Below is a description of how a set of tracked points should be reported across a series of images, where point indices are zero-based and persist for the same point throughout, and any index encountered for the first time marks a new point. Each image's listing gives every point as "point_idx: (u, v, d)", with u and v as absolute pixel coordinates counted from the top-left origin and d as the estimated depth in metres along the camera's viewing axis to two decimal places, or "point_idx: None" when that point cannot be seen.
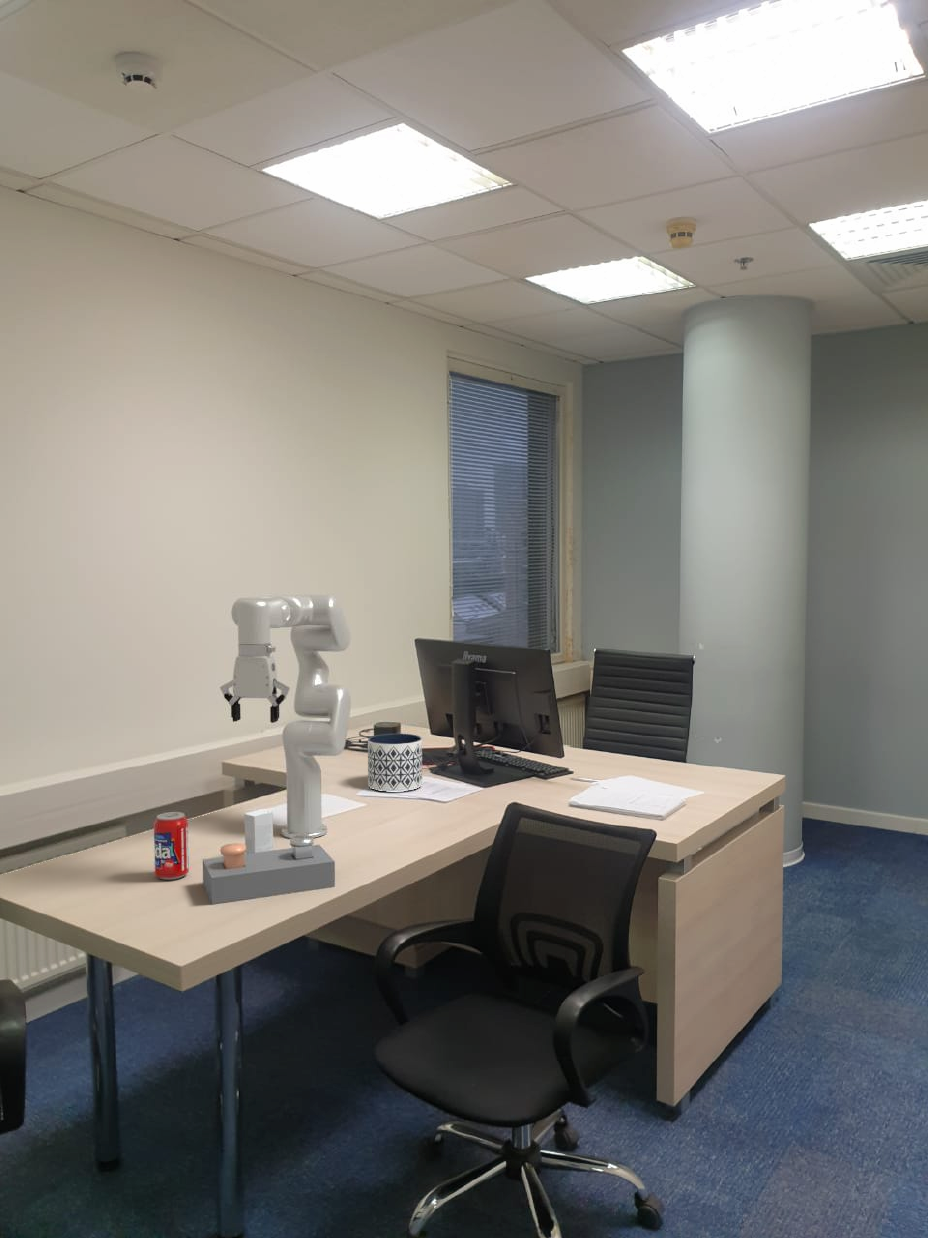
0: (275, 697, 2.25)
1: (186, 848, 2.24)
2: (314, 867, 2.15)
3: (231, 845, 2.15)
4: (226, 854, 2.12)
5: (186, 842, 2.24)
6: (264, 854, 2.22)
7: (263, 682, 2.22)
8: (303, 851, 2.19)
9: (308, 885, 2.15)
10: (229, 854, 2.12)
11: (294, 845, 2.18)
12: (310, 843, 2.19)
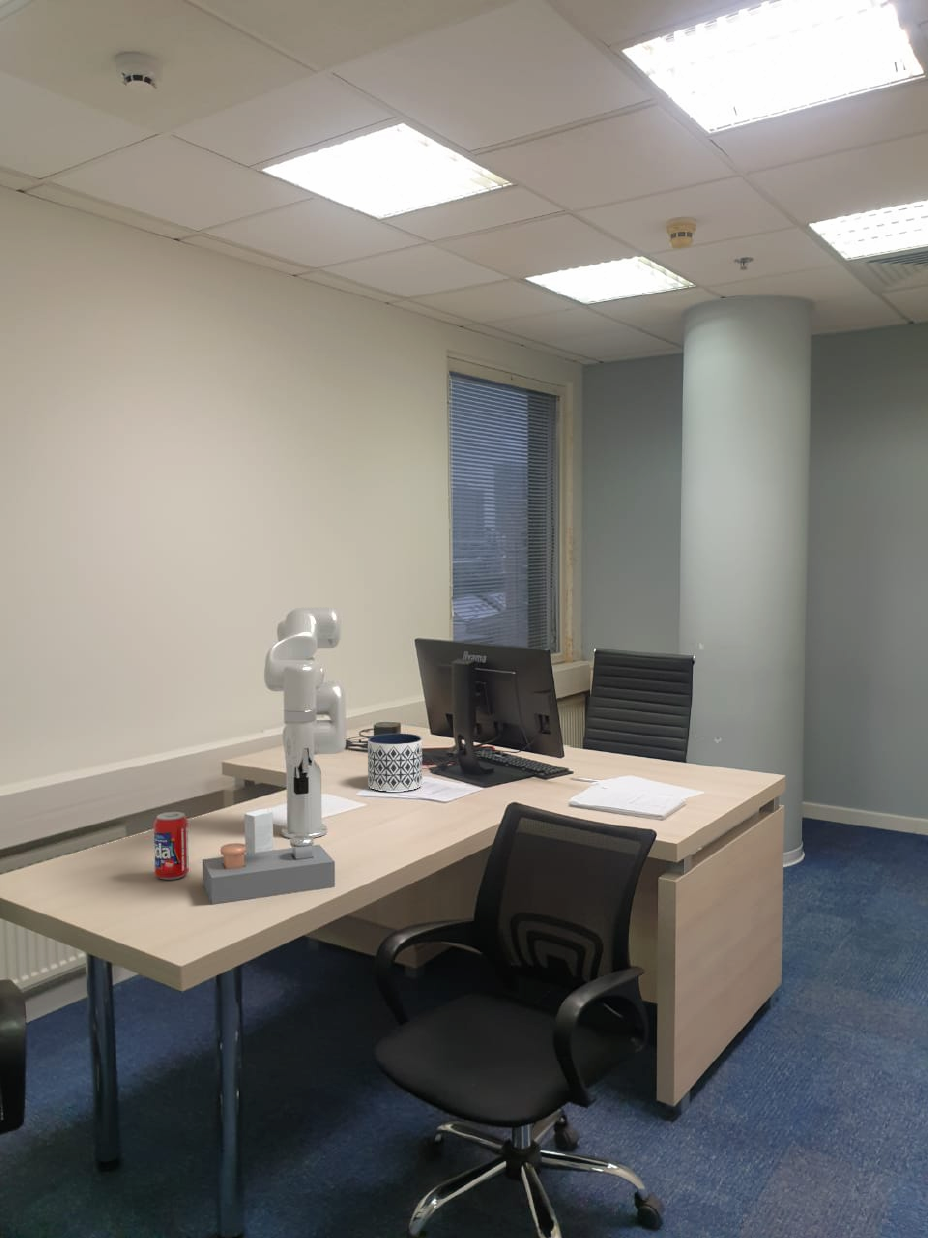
0: None
1: (186, 848, 2.24)
2: (314, 867, 2.15)
3: (231, 845, 2.15)
4: (226, 854, 2.12)
5: (186, 842, 2.24)
6: (264, 854, 2.22)
7: None
8: (303, 851, 2.19)
9: (308, 885, 2.15)
10: (229, 854, 2.12)
11: (294, 845, 2.18)
12: (310, 843, 2.19)
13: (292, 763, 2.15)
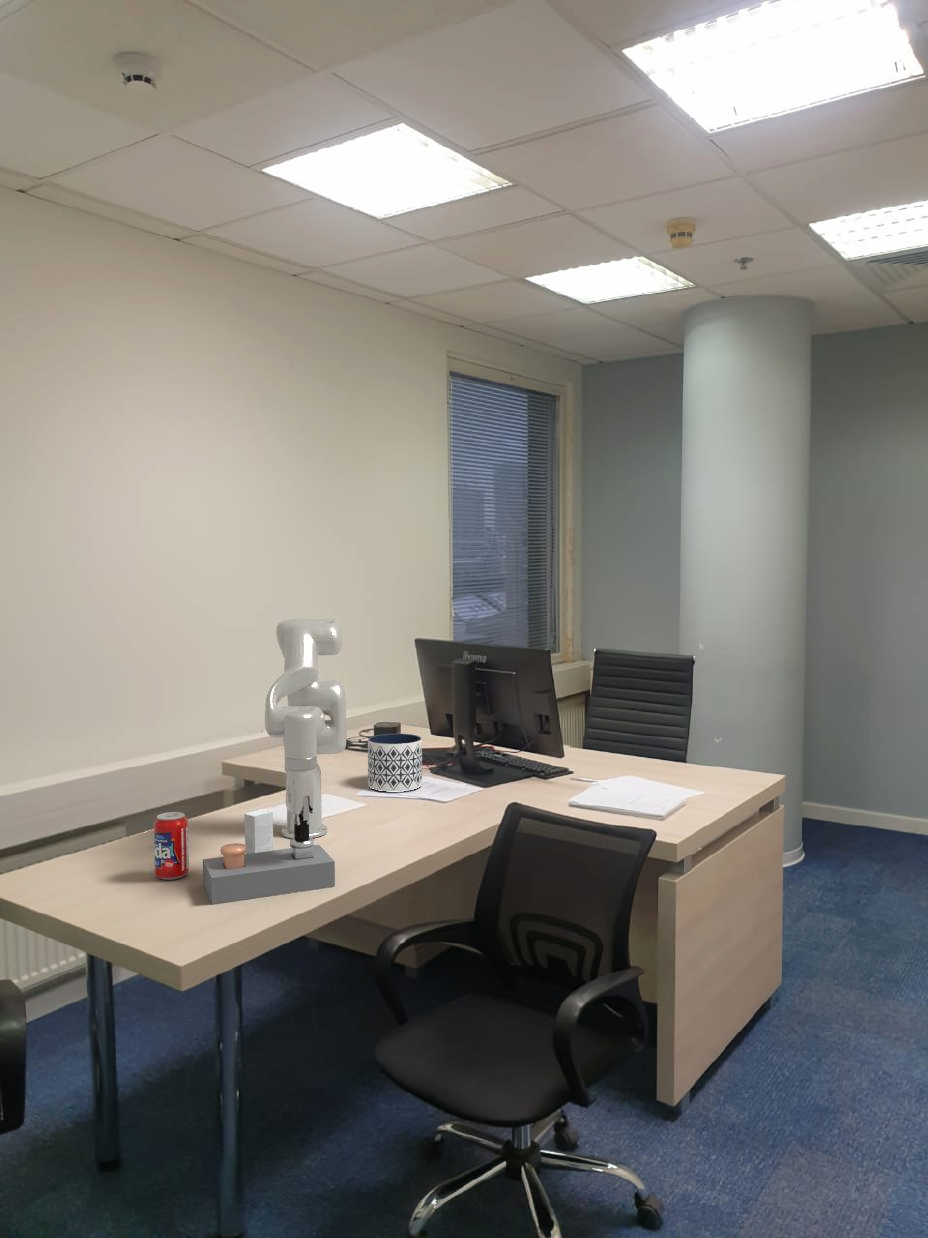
0: None
1: (186, 848, 2.24)
2: (314, 867, 2.15)
3: (231, 845, 2.15)
4: (226, 854, 2.12)
5: (186, 842, 2.24)
6: (264, 854, 2.22)
7: None
8: (303, 852, 2.19)
9: (308, 885, 2.15)
10: (229, 854, 2.12)
11: (294, 847, 2.18)
12: (310, 845, 2.19)
13: (293, 811, 2.16)
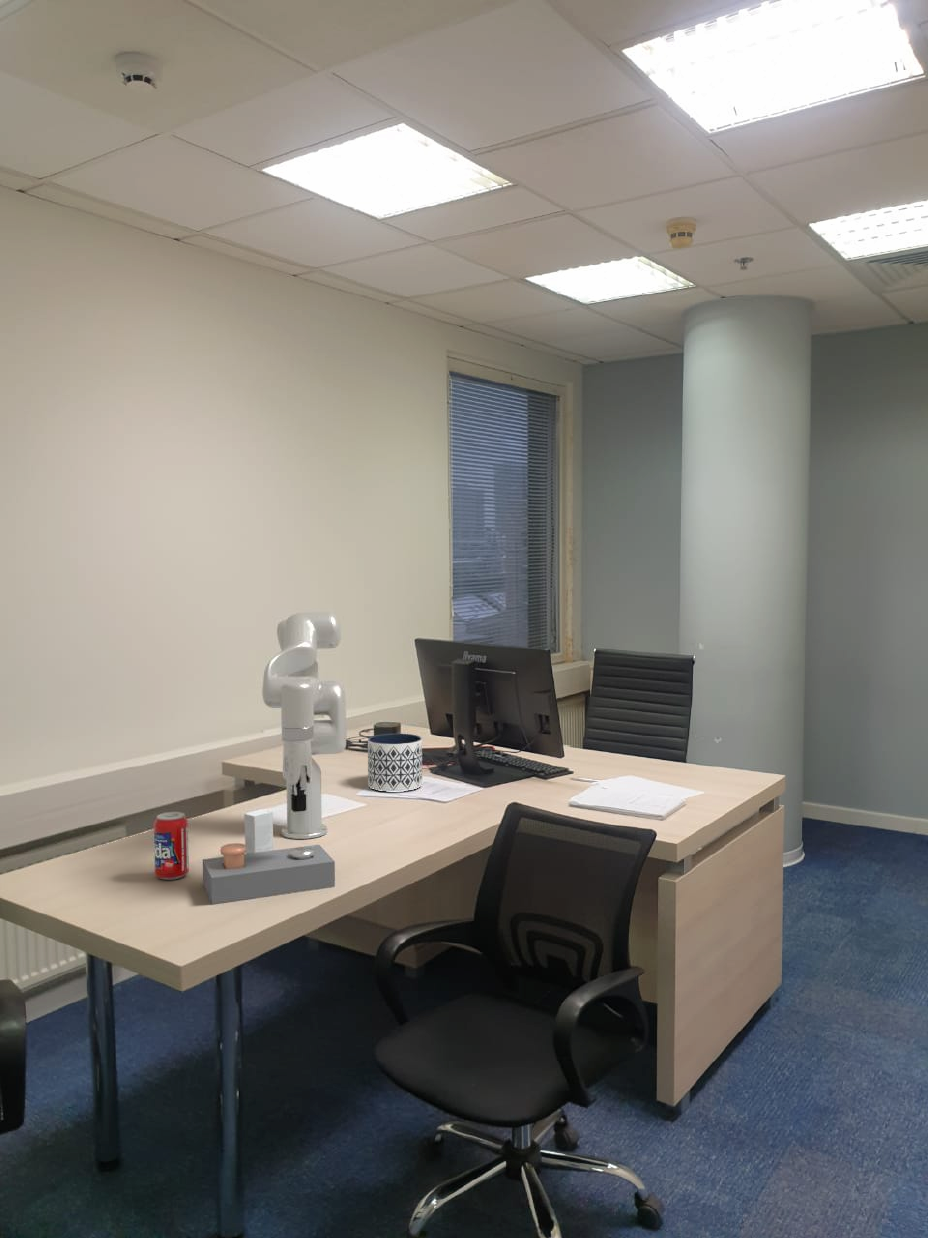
0: None
1: (186, 848, 2.24)
2: (314, 867, 2.15)
3: (231, 845, 2.15)
4: (226, 854, 2.12)
5: (186, 842, 2.24)
6: (264, 854, 2.22)
7: None
8: None
9: (308, 885, 2.15)
10: (229, 854, 2.12)
11: (294, 857, 2.18)
12: (310, 855, 2.19)
13: (290, 780, 2.15)
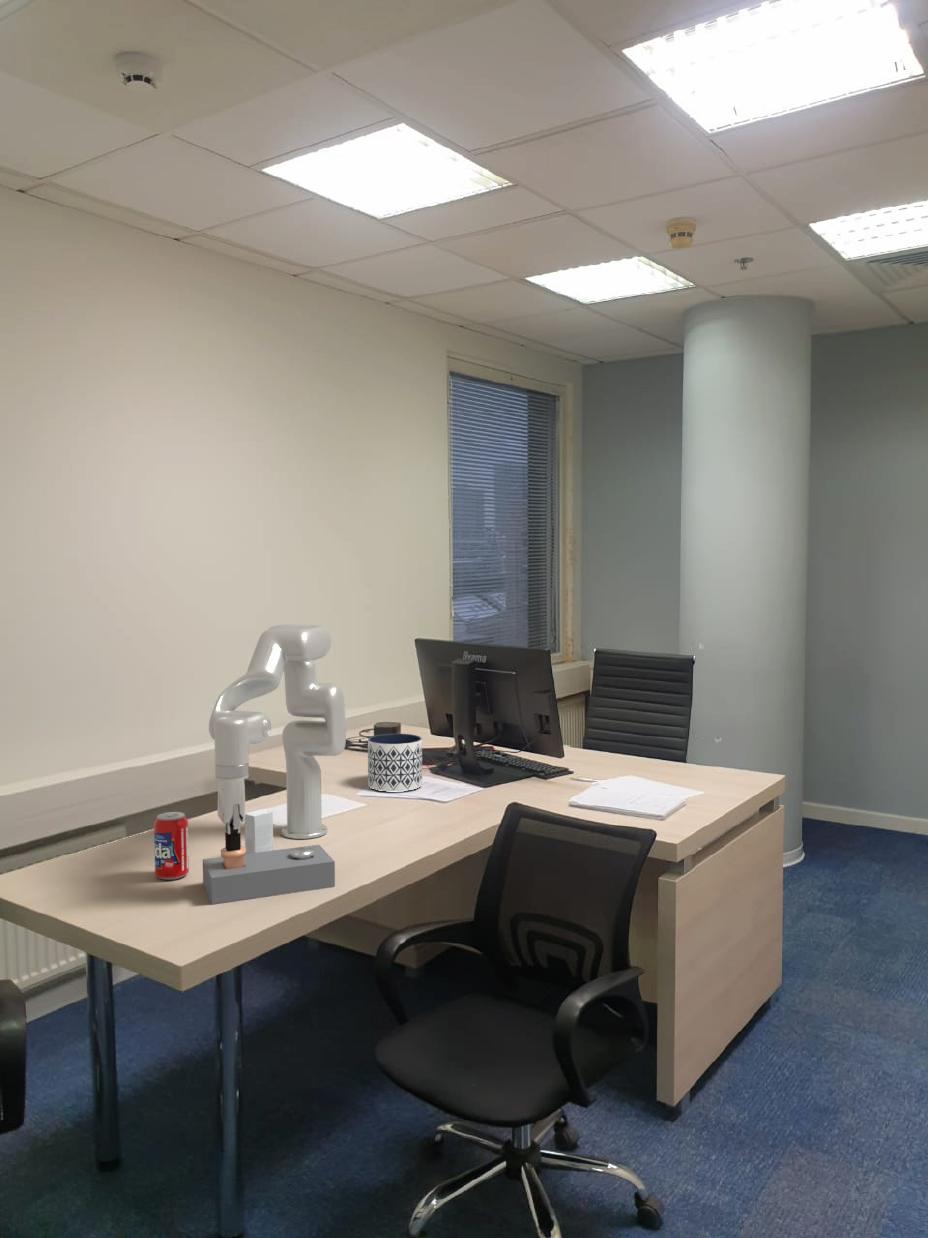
0: None
1: (186, 848, 2.24)
2: (314, 867, 2.15)
3: None
4: (226, 856, 2.12)
5: (186, 842, 2.24)
6: (264, 854, 2.22)
7: None
8: None
9: (308, 885, 2.15)
10: (229, 856, 2.12)
11: (294, 857, 2.18)
12: (310, 855, 2.19)
13: (222, 819, 2.10)
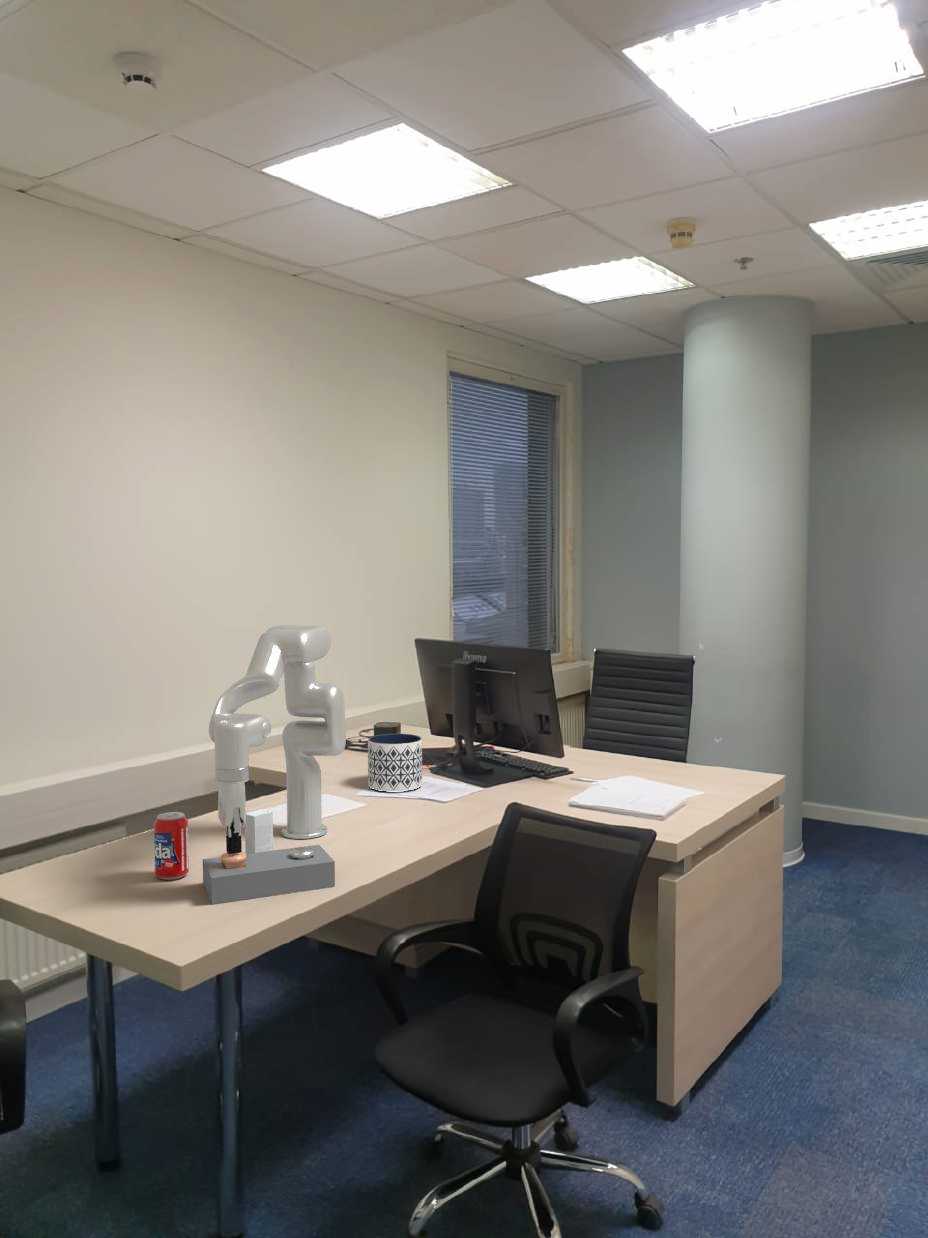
0: None
1: (186, 848, 2.24)
2: (314, 867, 2.15)
3: None
4: (226, 862, 2.12)
5: (186, 842, 2.24)
6: (264, 854, 2.22)
7: None
8: None
9: (308, 885, 2.15)
10: (229, 862, 2.12)
11: (294, 857, 2.18)
12: (310, 855, 2.19)
13: (223, 823, 2.10)
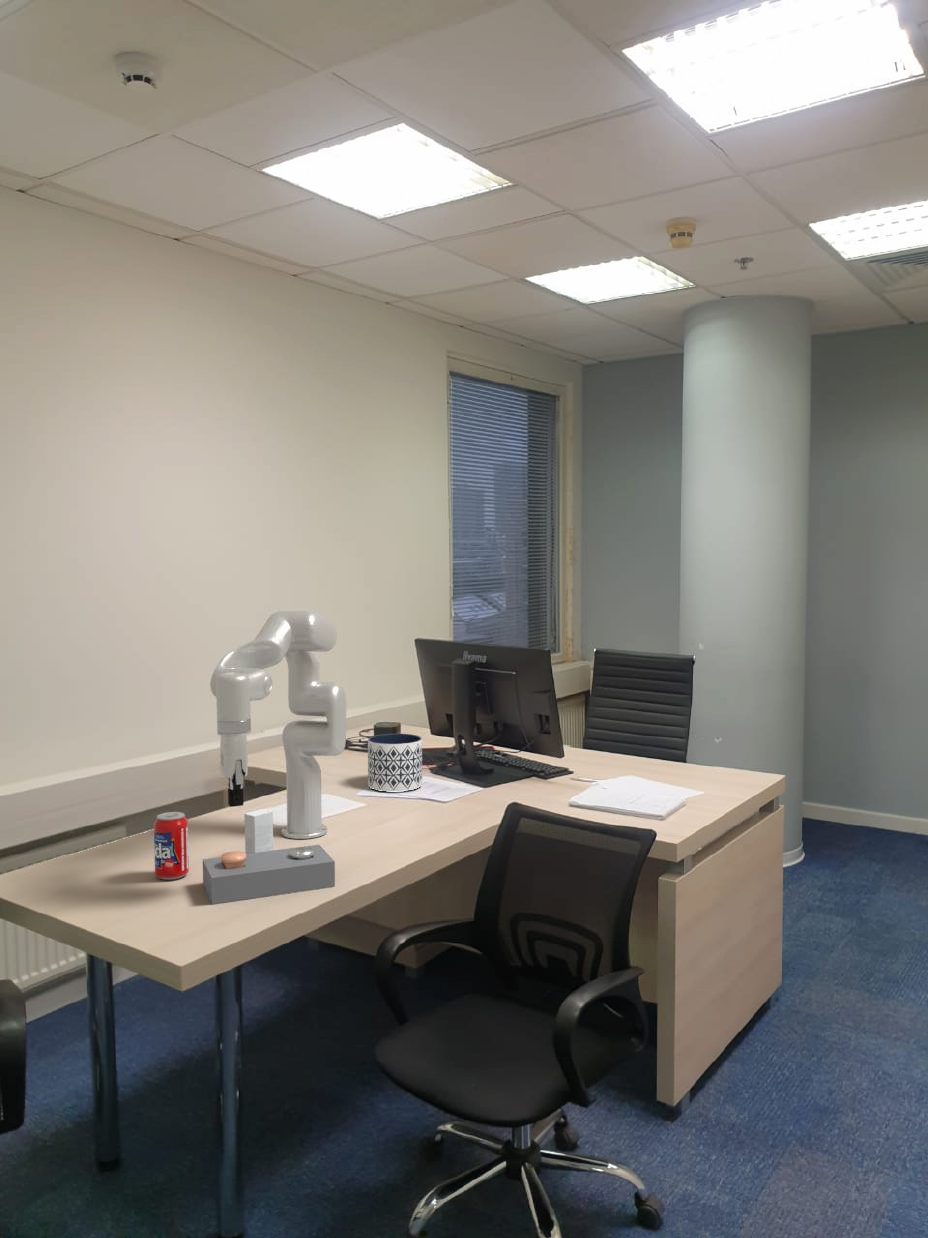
0: None
1: (186, 848, 2.24)
2: (314, 867, 2.15)
3: (231, 853, 2.16)
4: (226, 862, 2.12)
5: (186, 842, 2.24)
6: (264, 854, 2.22)
7: None
8: None
9: (308, 885, 2.15)
10: (229, 862, 2.12)
11: (294, 857, 2.18)
12: (310, 855, 2.19)
13: (225, 775, 2.10)
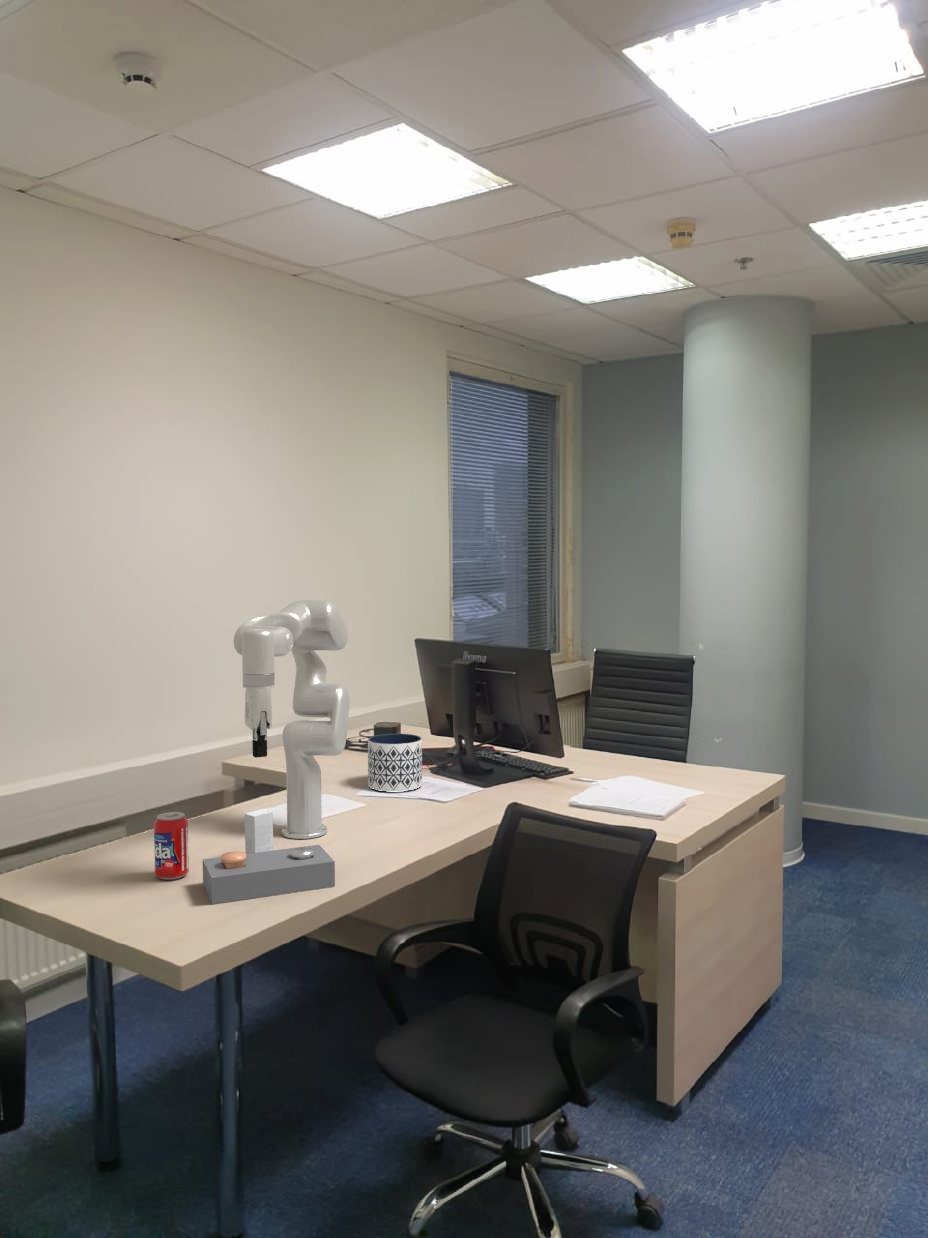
0: None
1: (186, 848, 2.24)
2: (314, 867, 2.15)
3: (231, 853, 2.16)
4: (226, 862, 2.12)
5: (186, 842, 2.24)
6: (264, 854, 2.22)
7: None
8: None
9: (308, 885, 2.15)
10: (229, 862, 2.12)
11: (294, 857, 2.18)
12: (310, 855, 2.19)
13: (250, 726, 2.19)
